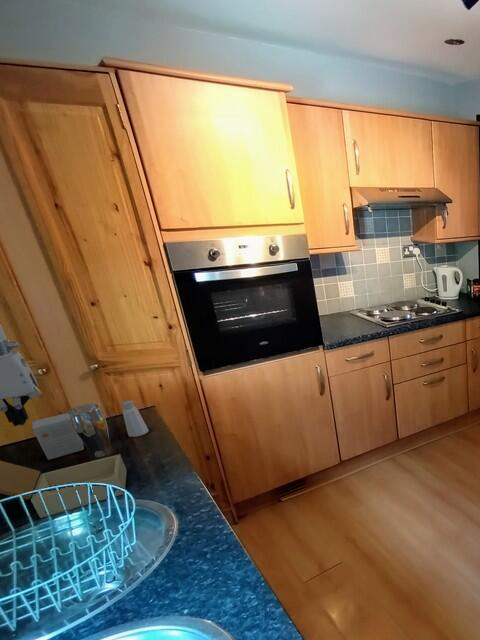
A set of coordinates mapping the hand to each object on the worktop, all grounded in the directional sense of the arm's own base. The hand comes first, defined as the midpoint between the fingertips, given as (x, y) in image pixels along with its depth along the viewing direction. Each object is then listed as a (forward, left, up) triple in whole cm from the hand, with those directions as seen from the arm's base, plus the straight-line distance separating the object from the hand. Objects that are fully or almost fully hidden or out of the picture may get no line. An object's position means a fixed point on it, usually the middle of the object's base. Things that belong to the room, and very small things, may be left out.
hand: (20, 423), depth 107 cm
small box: (0, +24, -20) cm, 31 cm away
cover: (-7, -5, -8) cm, 12 cm away
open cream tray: (+7, -5, -20) cm, 22 cm away
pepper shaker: (+17, +25, -20) cm, 36 cm away
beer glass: (+9, +15, -20) cm, 26 cm away
